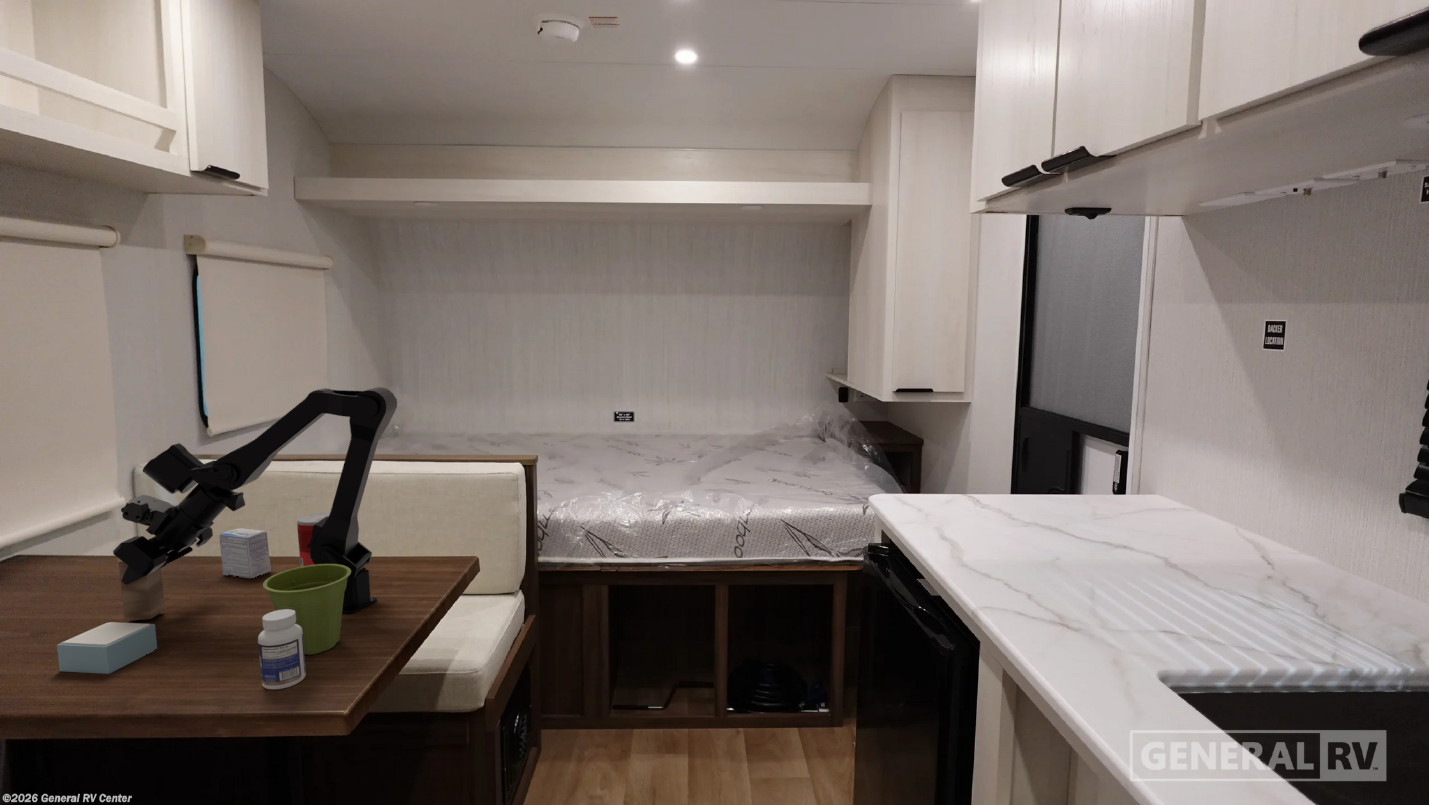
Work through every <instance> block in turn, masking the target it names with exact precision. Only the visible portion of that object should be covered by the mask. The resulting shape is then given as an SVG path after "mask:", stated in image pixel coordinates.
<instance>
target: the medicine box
mask: <svg viewBox="0 0 1429 805" xmlns="http://www.w3.org/2000/svg"><path fill="white" fill-rule="evenodd" d="M219 546H220V547H219V548H220V556H221V558H220V559H221V568H222V575H223V576H228V575H233V576H232V577H236V576H239V577H238V578H244V579H251V578H253V579H255V577H256V578H258V577H257V576H259V575H261V576H263V574H264V575H266V574H269V573H271V562H270V550H269V541H268V531H266V530H259V529H252V528H249V529H248V528H242V527H240V528H239V527H238V528H235V529H231V530H227V531H224V532H222V533H219ZM268 572H269V573H268ZM265 573H266V574H265ZM259 577H260V576H259Z"/></svg>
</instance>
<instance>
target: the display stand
mask: <svg viewBox="0 0 1429 805" xmlns="http://www.w3.org/2000/svg"><path fill="white" fill-rule="evenodd" d="M56 648H57V659H58V666H59V671H60V672H68V673H69V672H71V673H72V672H73V673H88V674H90V673H91V674H104V675H105V674H106V675H109V674H111V673H114V672H115V671H117V670H119V669H121V668H124V667H125V666H127V665H129V664H131V663H133V662H135V661H137V660H139V659H140V658H144V657H145V656H147V655H149V654H151V653H152V652H155V651H156V650H155V649H157V650H158V645H157V632H156V625H155V624H154V623H136V622H135V623H134V622H114V621H112V622H111V621H110V622H106V623H103V624H101V625H99V626H96V627H94V628H92V629H89V630H87V631H85V632H82V633H80V634H78V635H75V636H74V637H71V638H69V639H67V640H65V641H64V640H63V641H62V642H60V643H57V644H56ZM154 650H155V651H154ZM146 654H147V655H146Z"/></svg>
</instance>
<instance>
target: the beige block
mask: <svg viewBox="0 0 1429 805" xmlns="http://www.w3.org/2000/svg"><path fill="white" fill-rule="evenodd" d="M116 558H117V563H118V570H119V578H120V589H121V598H122V608H123V614H124V615H123V616H124V621H125V622H126V621H139V620H143V621H144V620H152V619H154V618H155V617H157V616H158V615H160V614H161V613H162V612H164V611H165V610H166V607H165V595H164V589H163V588H164V587H163V586H164V585H163V578H162V577H163V576H162V568H161V569H159V570H157V571H155V572H153V573H151V574H149V575H147V576H144V577H142V578H140V579H138V580H136V581H134V582H132V583H130V584H128V585H125V584H124V583H123V582H122V581H121V580H122V578H123V576H124V573H125V571H126V569H127V567H128V565H127V564H126V563H124V562H123V561H122V560H120V559H119V558H118V557H116Z"/></svg>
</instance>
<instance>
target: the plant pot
mask: <svg viewBox="0 0 1429 805" xmlns="http://www.w3.org/2000/svg"><path fill="white" fill-rule="evenodd" d="M350 574H351V569H350V568H349V567H347V566H344V565H338V564H317V565H308V566H302V567H301V566H298V567H294V568H289V569H286V570H283V571H280V572H277V573H276V574H272V575H271V576H270V577H268V578H267V579H265V580H264V582H263V583H262V588H263V589H264V590H265V591H267V592H268V595H269V599H270V601H271V603H272V604H273V606H274V607H273V608H274V611H277V610H283V609H291V610H294V611H295V613H296V622H295V623H294V624H298V625H299V626H300V627H301V628H302V631H303V643H304V655H309V656H311V655H317V654H320V653H322V652H325V651H328V650H330V649H331V648H334V647H335V646H336V644H337V643H338V642H339V641H340V637H341V636H340V635H341V628H342V627H341V625H342V617H343V612H342V608H343V599H344V591H345V589H346V584H347V577H349V575H350Z"/></svg>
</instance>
